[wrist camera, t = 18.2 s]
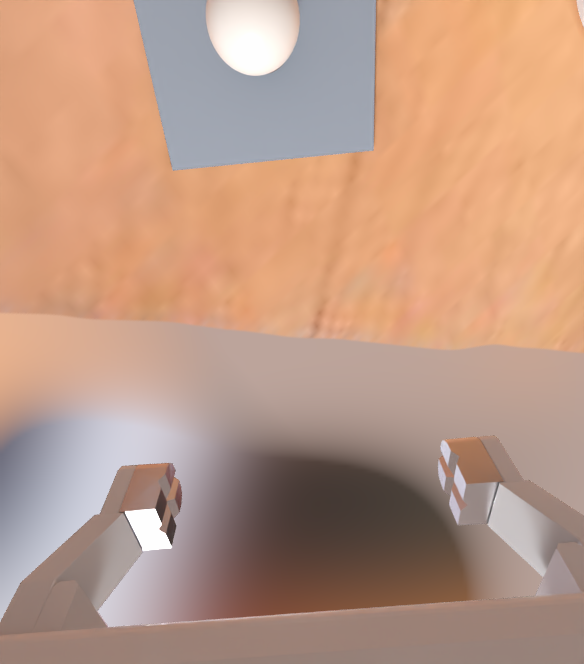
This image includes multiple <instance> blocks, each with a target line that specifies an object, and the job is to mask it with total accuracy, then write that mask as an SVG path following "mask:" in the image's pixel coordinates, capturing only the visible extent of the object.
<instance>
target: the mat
mask: <svg viewBox="0 0 584 664" xmlns="http://www.w3.org/2000/svg"><path fill="white" fill-rule="evenodd" d="M206 2H207V0H134V4H135V9H136V13H137V17H138V22H139V26H140V30H141V35H142V39H143V43H144V48H145V52H146V56H147V61H148V65H149V69H150V74H151V78H152V82H153V87H154V91H155V95H156V100H157V104H158V108H159V113H160V117H161V122H162V126H163V130H164V135H165V139H166V143H167V148H168V152H169V156H170V161H171V165H172V169H173V170H183V169H193V168H203V167H213V166H223V165H233V164H243V163H253V162H263V161H273V160H283V159H293V158H303V157H313V156H323V155H333V154H343V153H353V152H363V151H373V150H374V89H375V26H376V0H297V2H298V6H299V14H300V27H299V34H298V38H297V42H296V45H295V47H294V49H293V51H292V53H291V55H290V56H289V58H288V59H287V60H286V61H285V63H284V64H283V65H282V66H281V67H280V68H279V69H277V70H276V71H274V72H272V73H269V74H265V75H260V76H251V75H246V74H242V73H240V72H238V71H236V70H234V69H233V68H231V67H230V66H229V65H228V64H226V63H225V62H224V61H223V59H222V58H221V57H220V56H219V54H218V53H217V52H216V50H215V48H214V46H213V44H212V42H211V40H210V37H209V33H208V29H207V25H206Z"/></svg>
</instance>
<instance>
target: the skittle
mask: <svg viewBox="0 0 584 664" xmlns="http://www.w3.org/2000/svg"><path fill="white" fill-rule="evenodd" d="M206 25H207V29H208V33H209V37H210V40H211V42H212V44H213V46H214V48H215V50H216V52H217V53H218V54H219V56H220V57H221V58H222V59H223V61H224V62H225V63H226V64H228V65H229V66H230V67H231V68H233V69H234V70H236V71H238V72H240V73H242V74H246V75H251V76H260V75H265V74H269V73H272V72H274V71H276V70H277V69H279V68H280V67H281V66H282V65H283V64H284V63H285V61H286V60H287V59H288V58H289V56H290V55H291V53H292V51H293V49H294V47H295V45H296V42H297V38H298V34H299V27H300V14H299V6H298V2H297V0H207V2H206Z"/></svg>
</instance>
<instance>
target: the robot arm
mask: <svg viewBox="0 0 584 664" xmlns="http://www.w3.org/2000/svg"><path fill="white" fill-rule="evenodd" d="M577 7H578V12H579V15H580V19H581V21H582V24H583V26H584V0H577ZM440 449H441V451H442V454H443V456H441V457H440V458H439V461H438V472H439V479H440V482H441V485H442V488H443V490H444V492H446V493H447V494H448V495H450V496H451V497H450V503H449V505H450V508H451V510H452V513H453V515H454V517H455V520H456V522H457V525H470V524H471V525H472V524H488V526H489V527H490V528H491V529H492V530H493V531H494V532H495V533H496V534H497V535H499V536H500V537H501V538H502V539H503V540H504V541H505V542H506V543H507V544H508V545H509V546H510V547H512V548H513V549H514V550H515V551H516V552H517V553H518V554H519V555H520V556H521V557H522V558H523V559H524V560H525V561H526V562H527V563H529V564H530V565H531V566H532V567H533V568H534V569H535V570H536V571H537V572H538V573H539V574H540V575H541V576H542V577H543V579H542V581H541V583H540V586H539V588H538V590H537V593H536V595H535V596H527V597H514V598H500V599H486V600H473V601H459V602H445V603H431V604H418V605H404V606H391V607H377V608H364V609H349V610H335V611H322V612H309V613H295V614H283V615H269V616H255V617H242V618H229V619H214V620H200V621H187V622H175V623H160V624H146V625H133V626H119V627H108V626H107V624H106V622H105V621H104V620H103V618H102V617H101V615H100V614H99V613H98V610H99V608H100V607H101V606H102V605H103V603H104V602H105V601H106V599H107V598H108V597H109V596H110V594H111V593H112V592H113V590H114V589H115V588H116V586H117V585H118V584H119V583H120V581H121V580H122V579H123V577H124V576H125V575H126V573H127V572H128V571H129V570H130V568H131V567H132V566H133V564H134V563H135V562H136V561H137V559H138V558H139V557H140V555H141V554H142V552H143V550H152V549H162V548H171V547H172V543H173V538H174V534H175V530H176V524H175V521H174V518H175V517H176V515H177V514H178V513H179V512H180V508H181V503H182V490H181V484H180V481H179V480H178V479H176V478H175V477H174V475H175V471H176V470H175V468H174V466H173V463H161V464H146V465H145V464H144V465H130V466H122V467H121V468H120V469H119V470H118V472H117V474H116V476H115V479H114V481H113V484H112V486H111V488H110V491H109V493H108V495H107V498H106V500H105V503H104V505H103V508H102V510H101V513H100V514H99V515H94V516H93V517H92V518H91V519H90V520H89V521H88V522H87V523H85V524H84V525H83V526H82V527H81V528H80V529H79V530H78V531H77V532H76V533H74V534H73V535H72V536H71V537H70V538H69V539H68V540H67V541H66V542H65V543H63V544H62V545H61V546H60V547H59V548H58V549H57V550H56V551H55V552H54V553H53V554H51V555H50V556H49V557H48V558H47V559H46V560H45V561H44V562H43V563H42V564H41V565H39V566H38V567H37V568H36V569H35V570H34V571H33V572H32V573H31V574H30V575H29V576H27V577H26V578H25V579H24V580H23V581H22V582H21V583H20V585H19V587H18V589H17V591H16V593H15V595H14V597H13V598H12V600H11V602H10V604H9V606H8V608H7V610H6V612H5V614H4V616H3V618H2V620H1V622H0V664H584V516H583V515H582V514H580V513H579V512H577V511H576V510H574V509H573V508H571V507H570V506H568V505H567V504H565V503H564V502H562V501H560V500H559V499H557V498H556V497H554V496H553V495H551V494H550V493H548V492H547V491H545V490H544V489H542V488H541V487H539V486H537V485H536V484H534V483H533V482H531V481H530V480H524V479H523V478H522V476H521V475H520V473H519V471H518V470H517V468H516V467H515V465H514V463H513V462H512V460H511V459H510V457H509V455H508V454H507V452H506V451H505V449H504V447H503V446H502V444H501V443H500V441H499V439H498V438H497V437H496V436H483V437H468V438H458V439H447V440H443V441H442V443H441V447H440Z"/></svg>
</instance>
